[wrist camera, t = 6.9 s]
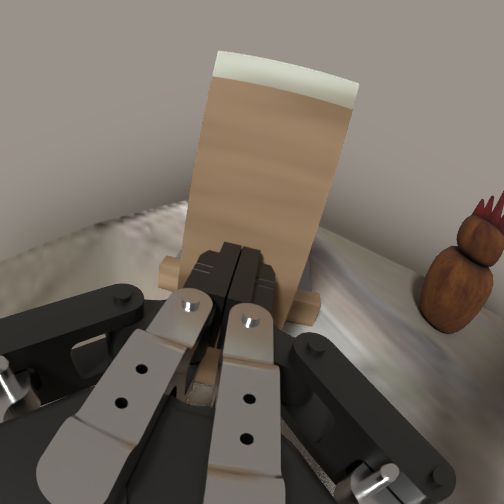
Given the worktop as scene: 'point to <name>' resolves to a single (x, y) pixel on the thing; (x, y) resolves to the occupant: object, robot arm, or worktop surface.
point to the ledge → (300, 310)
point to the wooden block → (264, 169)
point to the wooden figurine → (465, 270)
